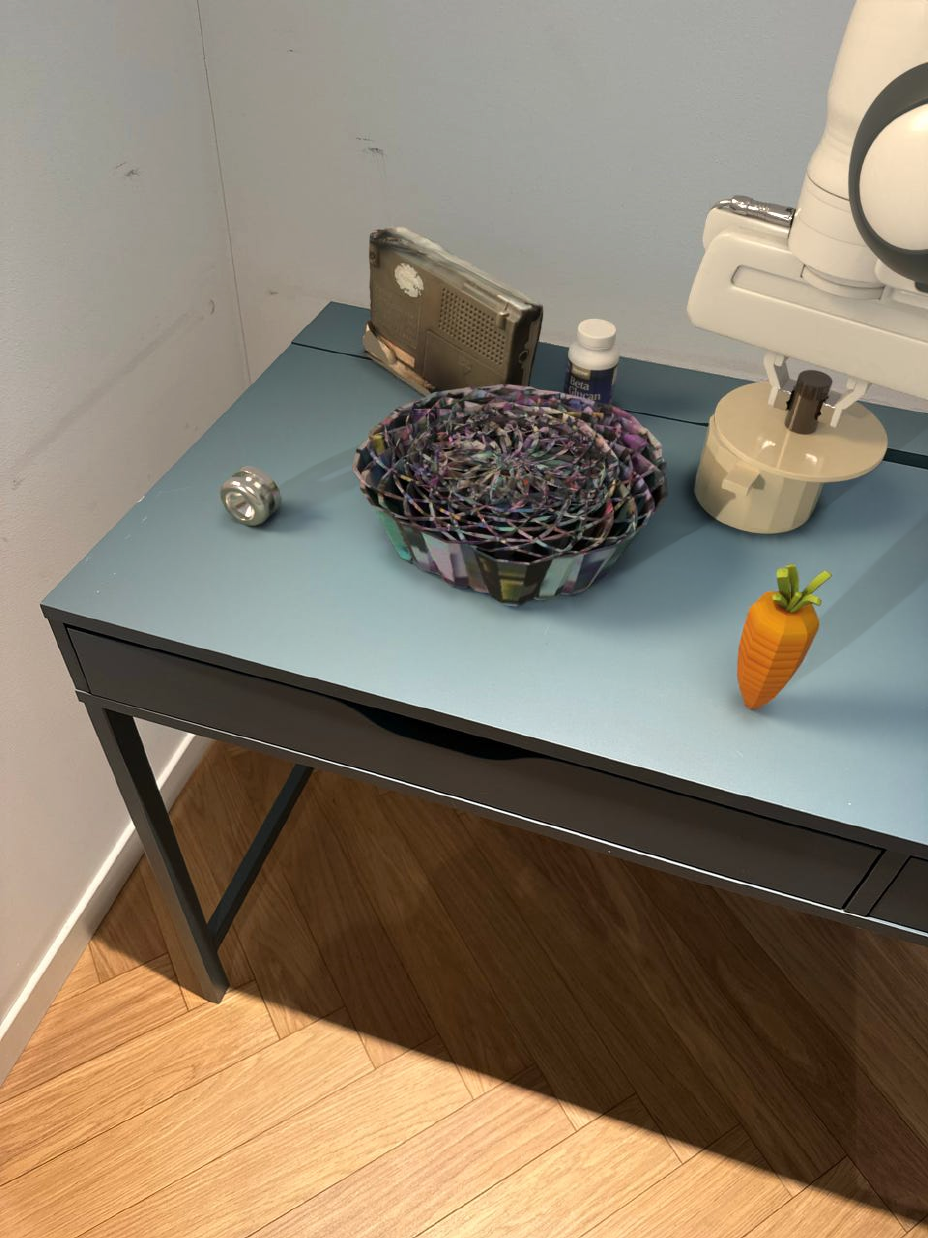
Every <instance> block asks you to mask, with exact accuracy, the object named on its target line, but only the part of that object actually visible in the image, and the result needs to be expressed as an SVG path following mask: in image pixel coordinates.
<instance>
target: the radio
mask: <svg viewBox="0 0 928 1238" xmlns="http://www.w3.org/2000/svg"><path fill="white" fill-rule="evenodd" d="M368 244H369V245H368V246H369V247H368V261H369V286H368V288H369V300H370V302H369V308H370V312H369V313H370V320H369V319H367V320H366V324H365V329H364V334H363V336H362V345H363V347H364V349H365V350H363V352H362V353H363V354H364V355H366V356H367V357H368V358H370V359H371V360H372V361H374V362H376V363H377V364H378V365H380V366H381V367H383V368H384V369H386V370H387V371H389V372H390V373H391V374H393V375H394V376H396V377H397V378H398V379H400V380H401V381H403V382H404V383H406V384H407V385H408V386H410V387H411V388H413V389H414V390H416V391H417V392H419V393H420V394H421V395H423V396H425V397H427V396H428V395H430V394H432V393H434V392H440V391H447V390H454V389H461V388H467V387H470V386H482V387H487V386H494V385H500V384H508V385H518V386H528V387H530V383H531V377H532V371H533V367H534V363H535V360H536V354H537V350H538V345H539V342H540V338H541V337H540V336H541V332H542V325H543V320H544V306H543V304H542V303H540V302H539V301H536V300H534V299H533V298H531V297H529V296H528V295H527V294H526V293H524V292H522V291H521V290H518V289H517V288H515V287H514V286H512V285H510V284H508V283H507V282H505V281H502V280H501V279H500V278H497V277H495V276H494V275H492V274H491V273H489V272H487V271H485V270H483V269H482V268H480V267H478V266H475V265H473V264H472V262H470V261H468V260H464V259H462V258H460V257H458V256H456V255H455V254H454V253H451V252H450V251H449V250H447V249H445V247H443V246H442V245H441V244H439V243H437V242H435V241H434V240H432V239H429V238H426V237H425V236H422V235H420V234H417V233H415V232H413V231H412V230H410V229H409V228H407V227H406V226H403V225H392V226H389V227H384V228H382V229H381V228H380V229H375V230H373V231H372V232H371V233H370V234H369V242H368Z"/></svg>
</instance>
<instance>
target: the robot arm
mask: <svg viewBox="0 0 928 1238" xmlns="http://www.w3.org/2000/svg"><path fill="white" fill-rule="evenodd" d="M854 2H855V3H854V5H853V7H852V9H851V13H850V15H849V18H848V21H847V25H846V29H845V31H844V34H843V36H842V40H841V43H840V47H839V50H838V54H837V57H836V61H835V64H834V68H833V71H832V75H831V79H830V82H829V87H828V90H827V96H826V121H825V127H824V130H823V134H822V137H821V139H820V141H819V142H818V145H817V147H816V148H815V150H814V152H813V154H812V155H811V157H810V160H809V162H808V165H807V167H806V172H805V176H804V180H803V183H802V187H801V190H800V194H799V198H798V201H797V205H796V208H795V207H791V206H786V205H781V204H778V203H771V202H763V201H759V200H755V199H754V198H753V197H750V196H746V195H742V194H734V195H733V196H732V197H731V198H726V199H721V200H720V201H717V202H715V204H713V206H711V208H710V209H709V211H707V215H706V218H705V223H704V228H703V232H702V233H703V234H702V246H703V250H704V254H703V256H702V258H701V261H700V264H699V266H698V268H697V271H696V274H695V277H694V280H693V283H692V286H691V288H690V289H691V290H690V292H689V297H688V300H687V305H686V313H687V316H688V318H689V320H690V322H691V325H692V326H693V327H694V328H697V329H700V330H703V331H706V332H708V333H711V334H715V335H719V336H722V337H724V338H727V339H731V340H734V341H737V342H740V343H744V344H746V345H750V346H753V347H757V348H760V349H763V350H766V351H765V352H764V353H765V354H764V357H763V361H762V362H763V365H764V369H765V372H766V375H767V378H768V381H770V385H771V386H772V389H771V393H770V396H769V400H768V405H769V406H772V407H775V408H778V409H781V410H784V411H787V410H788V408H789V405H790V401H791V398H792V395H793V392H794V388H795V385H796V382H797V380H795V379H792V378H790V374H789V369H788V366H787V363H786V361H787V360H789V358H791V359H795V360H797V361H801V362H804V363H807V364H809V365H813V366H816V367H819V368H822V369H826V370H828V371H831V372H835V373H837V374H842V375H844V376H848V379H847V382H846V385H845V388H846V389H847V390H846V391H845V392H844V393H841V394H842V395H839V394H835V393H832V392H831V393H830V394H829V395H828V398H827V399H825V401H824V402H823V404H822V407H821V410H820V412H821V413H820V415H819V416H818V419H817V422H820V423H823V424H826V425H829V426H831V427H835V428H837V427H838V425H839V424H840V423H841V421H842V419H843V417H844V415H845V412H846V409H847V408H848V407H849V406H850V405H852V404H853V403H854V402H858V400H860V399H861V398H863V397H864V396H865V395H866V393H868V391H869V389H870V388H871V387H872V385H876V386H879V387H882V388H885V389H889V390H891V391H895V392H898V393H901V394H904V395H908V396H910V397H914V398H917V399H920V400H923V401H927V402H928V0H855V1H854Z"/></svg>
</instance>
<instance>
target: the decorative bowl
mask: <svg viewBox="0 0 928 1238" xmlns="http://www.w3.org/2000/svg"><path fill="white" fill-rule="evenodd" d="M667 464H668V463H667V461H665V459H664V458H663V445H662V443H661V442H660V441H659V440H658V439H657V438H656V437H655V436H654V435H653V434H652V432H651V431H650V430H649V429H648V428H646V427H644V426H643V425H642V424H641V423H640V422H639V420H638V419H637V418H636V417H635V416H634V414H632V413H630V412H627V411H625V410H623V409H622V408H619V407H616V406H615V405H613V404H612V405H607V404H603V403H599V402H595V401H593V400H589V399H585V398H581V397H577V396H573V395H569V394H565V393H563V392H560V391H555V390H554V391H552V390H547V389H546V390H545V389H538V388H535V387H533V386H529V387H528V386H518V385H508V384H500V385H494V386H487V387H482V386H470V387H467V388H461V389H454V390H447V391H440V392H434V393H432V394H430V395H428V396H427V397H426V396H425V397H423V398H419V399H416V400H413V401H411V402H408V403H406V404H403V405H400V406H398V407H396V408H395V409H394V410H393V411H392V412H391V413H390V414H389V415H388V416H386V417H385V418H384V419H382V420H381V421H380V422H378V424H376V425H375V426H373V427H372V428H371V429H370V430H369V432H368V437H367V439H366V440H365V441H363V442H362V444H360V445H359V446H358V447H357V448H356V449H355V454H354V458H353V462H352V465H351V469H352V471H353V472H354V474H355V475H356V476H357V478H358V479H359V481H360V483H359V490H360V491H361V493H362V494H363V496H364V497H365V498H366V499H367V501H368V503H369V504H370V505H371V507H372V508H373V509H374V511H375V512H376V515H377V516H378V519H379V521H380V522H381V524H382V526H383V527H384V530H385V531H386V534H387V535H388V537H389V539H390V542H391V543H392V545H393V547H394V549H395V551H396V553H397V554H398V556H399V557H400V558H401V560H405V561H407V562H410V563H414V565H416V567H417V568H418V569H419V570H420V571H423V572H428V573H432V574H436V575H439V576H440V577H441V579H442V580H443V582H444V583H447V584H448V585H451V586H453V587H456V588H462V589H468V588H470V587H471V588H472V589H473V591H474V592H477V593H484V594H489V596H490V597H491V598H492V599H494V600H495V601H497V602H498V603H499V604H501V605H503V606H507V607H508V606H509V607H519V606H522V605H524V604H526V603H528V602H530V601H531V600H533V599H534V600H536V601H545V600H549V599H552V598H556V597H560V596H561V595H562V596H570V597H571V596H572V597H574V596H577V595H579V594H580V593H583V592H584V591H586V590H588V589H589V588H590V586H591V585H592V584H593V583H595V582H598V581H600V580H601V579H604V578H605V577H606V576H607V574H608V573H609V571H610V570H611V568H613V566H614V564H615V563H617V562H618V561H619V559H620V558H621V557H622V556H623V554H624V553H625V551H626V550H627V549H628V547H629V546H630V544H632V541H633V540H634V539H635V538H636V536H637V535H638V533H639V531H640V530H641V529H643V528H645V527H647V525H648V524H649V522H650V519H651V518H652V516H653V515H654V514H656V513H657V511H658V510H659V508H660V507H661V506H662V505H663V504H664V502H665V501H666V500H667V499H668V498H669V490H668V482H667V478H666V471H667Z"/></svg>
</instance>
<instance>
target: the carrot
mask: <svg viewBox="0 0 928 1238" xmlns="http://www.w3.org/2000/svg"><path fill="white" fill-rule="evenodd" d="M832 577H833V574H832V573H831V572H830V571H829V570H826V569H825V570H823V571H821V572H820V573H819V574H818V575H816V576H815V577H814V578H813V579H812V580H811V581H810V583H808V585H807V586H806V587H805V588H804V589H803V590H802V591H799V590H800V577H799V572H798V569H797V566H796V564H793V563H789V564H787V565H785V567H781V568H777V571H776V583H777V587H778V590H769V591H765V592H764V593H762V595H761V596H760V597H758V598H757V600H756V601H755V602H754V603H753V604H752V605H751V606H750V607H749V609H748V612H747V614H746V619H745V622H744V625H743V627H742V633H741V636H740V640H739V644H738V650H737V661H736V662H737V663H736V664H737V665H736V666H737V667H736V677H737V684H738V688H739V692H740V694H741V698H742V700H743V703H744V705H745V707H746V708H748V709H750V710H758V709H760V708H762V707H763V706H766V705H767V704H768V703H770V702H771V701H773V700H774V699H775V698H776V697H777V696H778V695H779V693H780V692H781V691H782V690H784V688H785V687H786V685H787V684H788V683H789V681H790V680H791V679H792V678H793V677H794V676H795V674H796V672H797V671H798V669H799V668H800V666H801V665H802V664H803V662H804V659H805V658H806V657H807V654H808V652H809V650H810V648H811V646H812V644H813V642H814V641H815V638H816V636H817V633H818V631H819V628H820V619H819V616H818V614H817V612H816V610H815V607H814V605H815V606H817V607H821V606H822V601H823V600H822V599H821V597H818V596H816V595H815V594H813V593H814V592H815V591H817V590H818V589H819V588H820V587H821V586H822V585H823V584H825V583H826V582H827V581H828V580H830V579H831V578H832Z"/></svg>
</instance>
